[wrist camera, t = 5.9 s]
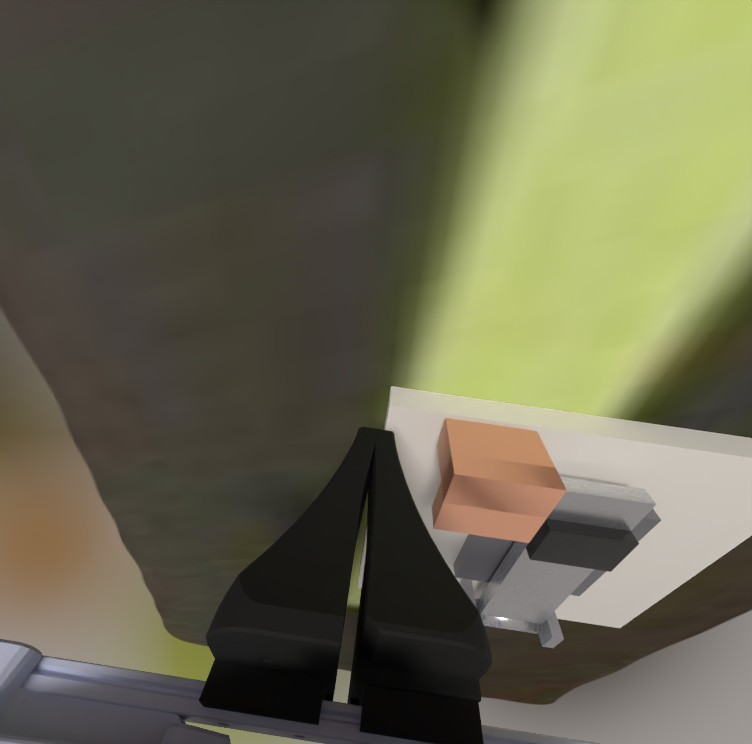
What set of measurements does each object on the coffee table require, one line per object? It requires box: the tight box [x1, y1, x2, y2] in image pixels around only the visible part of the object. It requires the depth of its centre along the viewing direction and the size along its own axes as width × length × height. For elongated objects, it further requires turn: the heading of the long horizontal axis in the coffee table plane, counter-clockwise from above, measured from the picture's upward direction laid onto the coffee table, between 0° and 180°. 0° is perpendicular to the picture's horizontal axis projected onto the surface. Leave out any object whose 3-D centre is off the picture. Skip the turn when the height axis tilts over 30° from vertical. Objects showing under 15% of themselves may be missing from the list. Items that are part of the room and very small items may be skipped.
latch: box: [432, 418, 567, 543], centre depth 13 cm, size 4×4×3 cm
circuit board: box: [357, 386, 752, 648], centre depth 18 cm, size 18×20×4 cm
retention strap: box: [475, 477, 656, 634], centre depth 17 cm, size 14×4×2 cm, turn 174°
